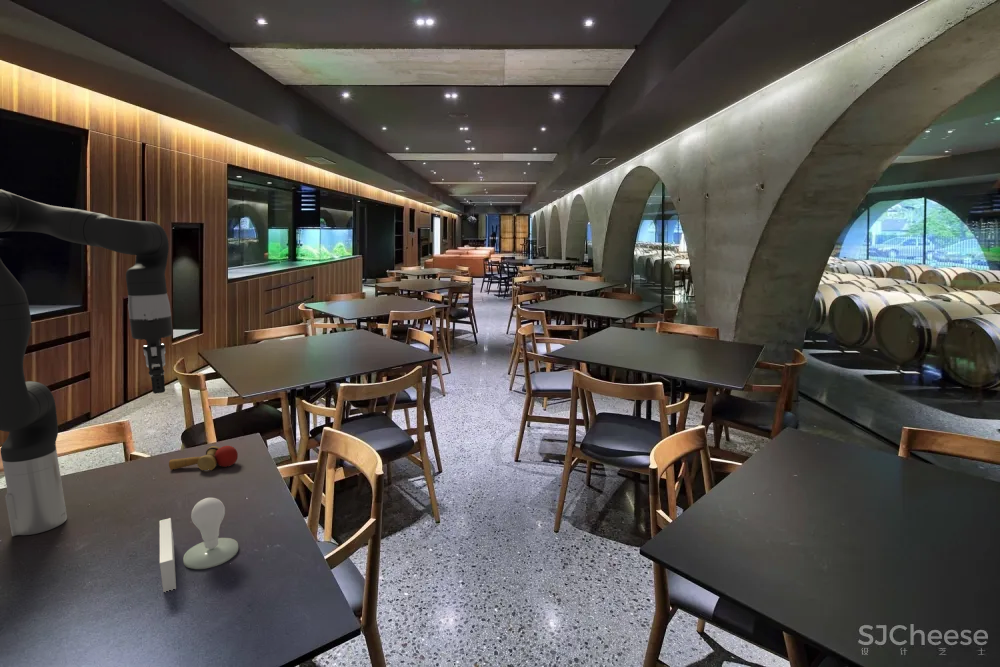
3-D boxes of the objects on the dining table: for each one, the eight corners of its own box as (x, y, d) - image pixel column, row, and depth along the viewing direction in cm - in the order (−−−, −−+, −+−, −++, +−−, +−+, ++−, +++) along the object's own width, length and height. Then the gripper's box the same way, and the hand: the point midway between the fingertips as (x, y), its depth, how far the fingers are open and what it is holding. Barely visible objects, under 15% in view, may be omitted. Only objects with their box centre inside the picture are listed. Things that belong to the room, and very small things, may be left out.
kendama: (166, 480, 148) (233, 467, 150) (162, 458, 148) (229, 445, 150) (179, 473, 155) (243, 461, 158) (175, 452, 155) (239, 440, 158)
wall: (163, 592, 98) (159, 563, 97) (162, 546, 113) (159, 520, 112) (176, 589, 99) (172, 559, 98) (173, 543, 114) (170, 517, 113)
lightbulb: (219, 557, 107) (213, 506, 105) (188, 557, 107) (183, 506, 105) (234, 540, 113) (229, 492, 112) (205, 540, 113) (200, 492, 112)
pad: (184, 575, 103) (184, 571, 103) (182, 550, 111) (182, 547, 111) (241, 558, 108) (241, 555, 108) (235, 536, 116) (235, 533, 116)
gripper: (130, 313, 118) (139, 383, 121) (127, 320, 106) (137, 398, 109) (170, 310, 122) (178, 379, 125) (171, 317, 110) (180, 393, 113)
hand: (159, 388), depth 117 cm, fingers open, 8 cm apart
